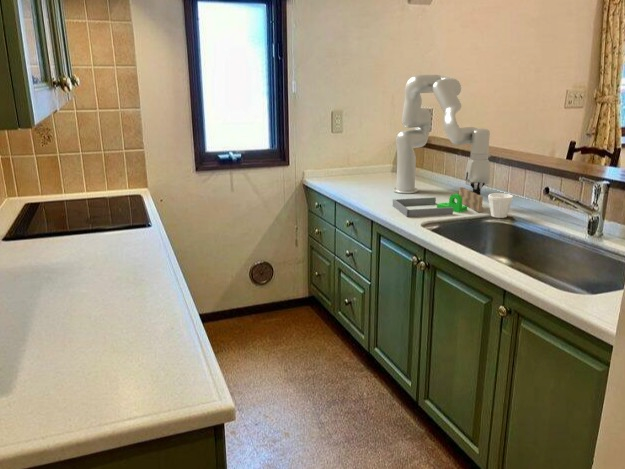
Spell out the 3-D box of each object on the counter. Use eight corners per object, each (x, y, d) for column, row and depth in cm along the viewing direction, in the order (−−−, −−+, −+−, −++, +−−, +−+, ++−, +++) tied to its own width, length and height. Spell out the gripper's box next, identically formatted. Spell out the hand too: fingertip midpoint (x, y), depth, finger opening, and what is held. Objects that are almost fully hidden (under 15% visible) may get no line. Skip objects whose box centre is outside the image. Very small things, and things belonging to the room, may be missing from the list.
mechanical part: (466, 210, 236) (468, 193, 234) (458, 213, 232) (460, 195, 230) (444, 206, 245) (445, 189, 243) (436, 208, 241) (437, 191, 239)
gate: (458, 201, 251) (459, 187, 249) (461, 201, 251) (462, 187, 249) (478, 212, 231) (479, 196, 229) (481, 212, 232) (482, 196, 230)
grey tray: (392, 205, 247) (392, 199, 246) (434, 203, 250) (435, 197, 249) (407, 217, 227) (407, 210, 226) (452, 214, 230) (453, 207, 229)
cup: (516, 217, 223) (518, 196, 220) (500, 221, 218) (502, 199, 215) (497, 212, 231) (499, 191, 229) (481, 216, 226) (483, 194, 224)
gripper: (490, 155, 240) (487, 194, 245) (459, 156, 238) (457, 196, 243) (498, 157, 233) (495, 198, 238) (467, 159, 231) (464, 199, 236)
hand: (476, 197), depth 241 cm, fingers closed
